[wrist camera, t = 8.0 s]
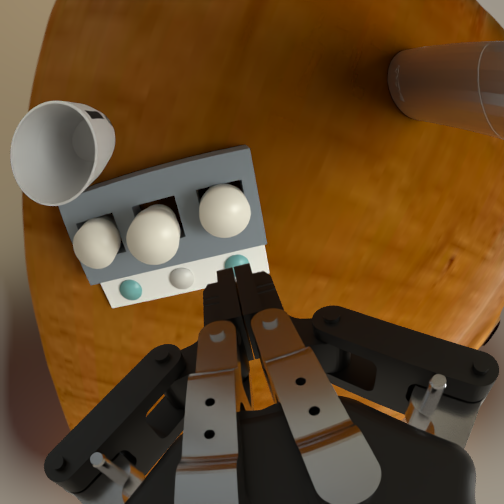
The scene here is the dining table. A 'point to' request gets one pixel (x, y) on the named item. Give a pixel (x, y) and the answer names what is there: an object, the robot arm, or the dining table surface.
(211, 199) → the button
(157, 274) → the strip
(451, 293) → the dining table surface
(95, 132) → the cup
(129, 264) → the board
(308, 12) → the dining table surface
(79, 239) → the button
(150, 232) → the button
